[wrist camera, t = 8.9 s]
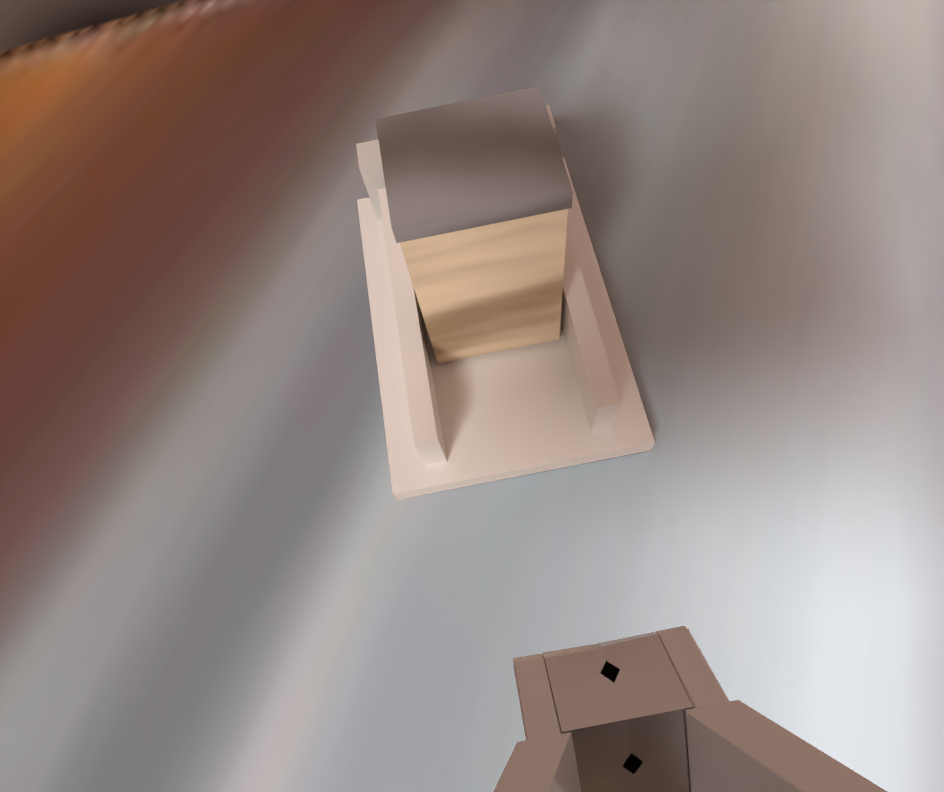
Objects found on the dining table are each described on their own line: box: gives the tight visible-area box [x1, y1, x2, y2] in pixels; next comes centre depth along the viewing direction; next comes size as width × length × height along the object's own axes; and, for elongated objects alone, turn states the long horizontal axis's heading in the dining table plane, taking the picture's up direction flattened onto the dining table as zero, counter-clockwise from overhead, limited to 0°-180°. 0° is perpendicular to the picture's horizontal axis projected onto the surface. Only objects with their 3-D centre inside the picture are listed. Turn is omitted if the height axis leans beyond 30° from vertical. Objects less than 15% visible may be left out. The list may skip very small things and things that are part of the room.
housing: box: [356, 105, 655, 500], centre depth 30 cm, size 18×12×5 cm
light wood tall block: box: [375, 86, 573, 364], centre depth 27 cm, size 5×6×10 cm
